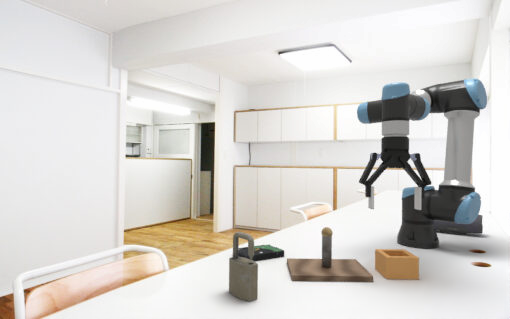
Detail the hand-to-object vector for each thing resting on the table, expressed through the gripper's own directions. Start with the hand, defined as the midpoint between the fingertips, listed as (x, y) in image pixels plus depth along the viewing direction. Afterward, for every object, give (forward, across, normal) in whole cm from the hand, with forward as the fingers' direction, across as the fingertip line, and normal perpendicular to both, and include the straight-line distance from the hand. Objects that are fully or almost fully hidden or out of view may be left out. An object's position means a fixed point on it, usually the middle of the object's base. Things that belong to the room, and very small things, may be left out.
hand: (394, 209), depth 98 cm
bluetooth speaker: (+19, -51, -59) cm, 80 cm away
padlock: (+19, +43, +18) cm, 51 cm away
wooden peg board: (+19, +20, 0) cm, 27 cm away
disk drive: (+20, +40, -16) cm, 47 cm away
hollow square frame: (+19, 0, 0) cm, 19 cm away
